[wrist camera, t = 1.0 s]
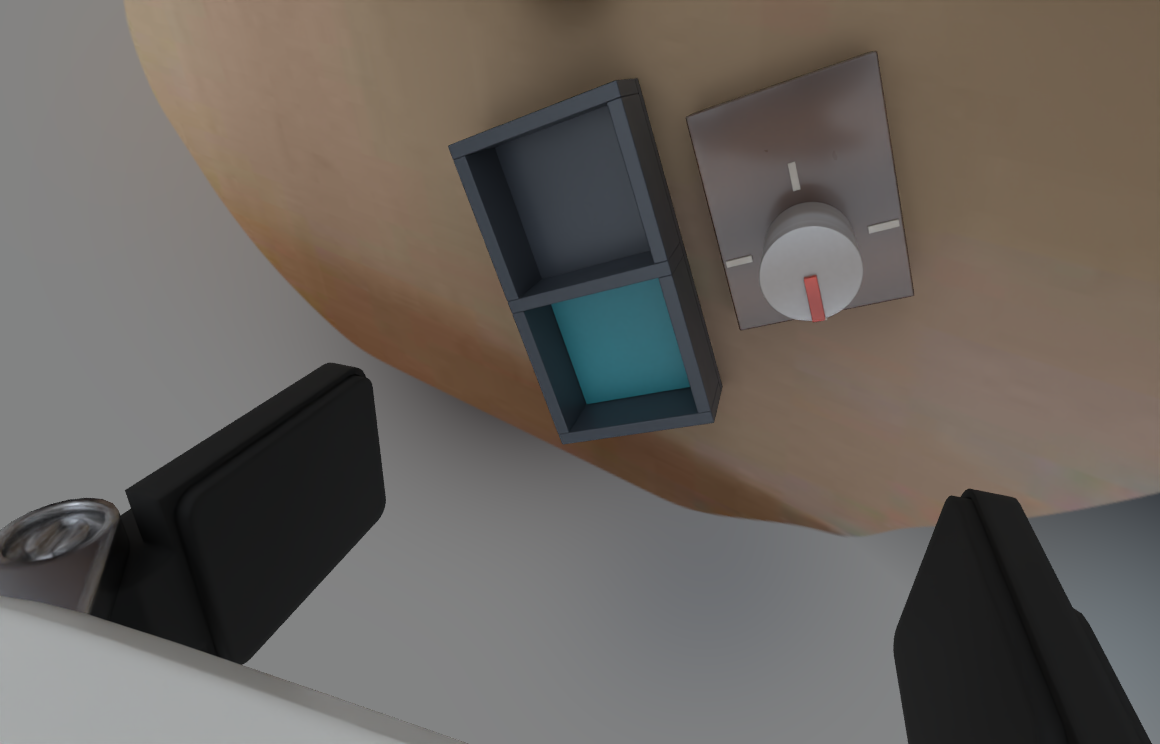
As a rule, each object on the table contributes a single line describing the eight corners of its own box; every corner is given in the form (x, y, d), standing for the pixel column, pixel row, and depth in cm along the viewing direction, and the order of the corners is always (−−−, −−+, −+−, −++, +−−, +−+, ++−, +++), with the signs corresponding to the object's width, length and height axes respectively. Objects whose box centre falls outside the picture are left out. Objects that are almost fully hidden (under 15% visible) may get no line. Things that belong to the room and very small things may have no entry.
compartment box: (484, 137, 39) (447, 145, 35) (637, 77, 35) (616, 79, 31) (583, 410, 45) (562, 444, 41) (722, 387, 41) (714, 423, 37)
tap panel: (693, 112, 35) (684, 117, 32) (870, 51, 31) (877, 50, 28) (745, 317, 39) (740, 336, 36) (906, 284, 35) (915, 302, 32)
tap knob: (756, 215, 33) (748, 242, 28) (845, 191, 31) (854, 215, 26) (774, 293, 34) (770, 331, 29) (860, 274, 33) (871, 312, 28)
